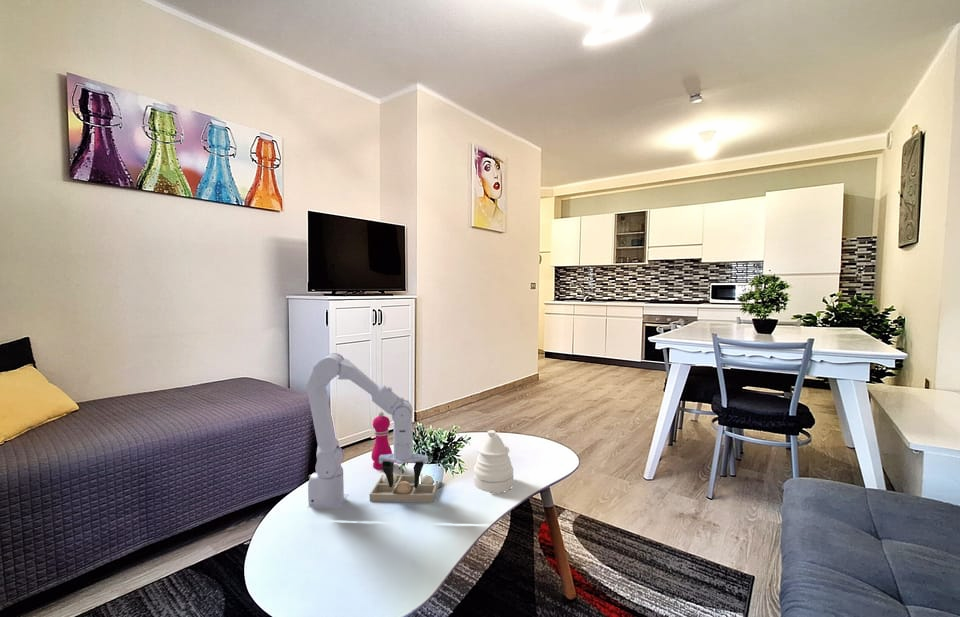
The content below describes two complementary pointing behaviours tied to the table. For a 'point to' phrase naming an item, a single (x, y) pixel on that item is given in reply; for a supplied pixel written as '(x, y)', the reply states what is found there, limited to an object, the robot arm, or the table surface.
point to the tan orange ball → (403, 487)
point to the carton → (390, 494)
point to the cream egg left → (387, 480)
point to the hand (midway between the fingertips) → (403, 486)
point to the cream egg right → (427, 480)
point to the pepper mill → (380, 439)
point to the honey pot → (493, 466)
